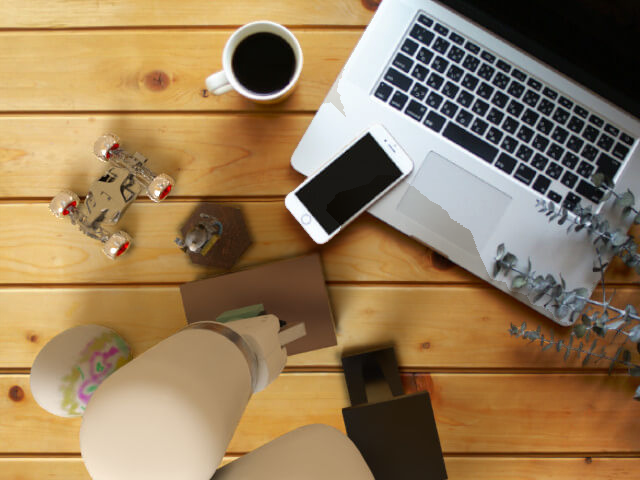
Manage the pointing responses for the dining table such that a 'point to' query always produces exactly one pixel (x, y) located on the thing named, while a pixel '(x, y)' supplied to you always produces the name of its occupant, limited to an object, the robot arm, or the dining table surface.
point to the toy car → (112, 195)
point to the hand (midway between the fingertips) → (242, 330)
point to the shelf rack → (269, 298)
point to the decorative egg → (76, 368)
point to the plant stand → (390, 420)
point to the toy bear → (240, 313)
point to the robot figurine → (215, 236)
